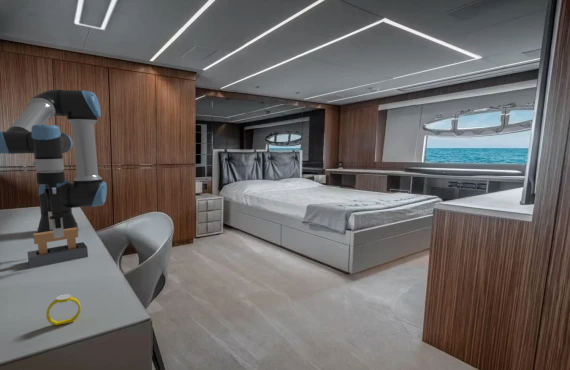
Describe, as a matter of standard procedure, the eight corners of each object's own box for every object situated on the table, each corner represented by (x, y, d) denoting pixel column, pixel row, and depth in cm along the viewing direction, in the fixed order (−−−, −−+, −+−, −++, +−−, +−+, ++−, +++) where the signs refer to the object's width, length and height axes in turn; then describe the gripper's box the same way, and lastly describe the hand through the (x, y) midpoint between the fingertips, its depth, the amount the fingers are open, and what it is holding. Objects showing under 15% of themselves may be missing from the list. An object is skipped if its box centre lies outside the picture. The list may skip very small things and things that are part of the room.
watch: (47, 330, 64) (44, 303, 63) (48, 324, 66) (45, 297, 66) (81, 321, 67) (79, 295, 66) (81, 315, 69) (79, 290, 69)
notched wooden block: (36, 264, 101) (33, 235, 100) (36, 262, 103) (33, 233, 102) (80, 256, 109) (77, 228, 108) (78, 254, 111) (76, 227, 110)
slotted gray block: (29, 268, 98) (28, 258, 97) (28, 261, 104) (27, 251, 103) (88, 256, 108) (87, 247, 108) (84, 251, 114) (83, 242, 114)
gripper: (33, 170, 109) (40, 227, 112) (38, 175, 91) (46, 244, 93) (59, 168, 114) (65, 224, 117) (69, 173, 96) (75, 238, 98)
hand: (56, 233), depth 105 cm, fingers open, 13 cm apart
